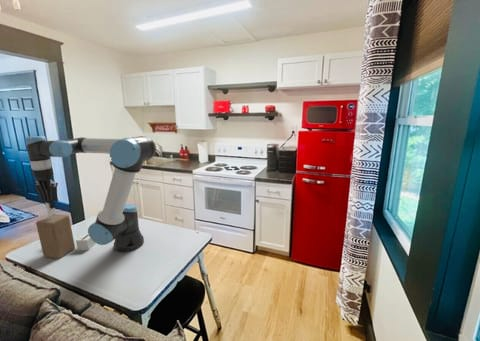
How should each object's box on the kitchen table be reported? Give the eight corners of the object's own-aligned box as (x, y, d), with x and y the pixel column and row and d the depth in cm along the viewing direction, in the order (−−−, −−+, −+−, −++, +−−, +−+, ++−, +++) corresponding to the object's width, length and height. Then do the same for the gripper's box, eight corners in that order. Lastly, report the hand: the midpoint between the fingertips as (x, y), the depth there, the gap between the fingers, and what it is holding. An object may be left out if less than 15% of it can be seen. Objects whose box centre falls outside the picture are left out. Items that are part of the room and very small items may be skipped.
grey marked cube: (95, 244, 130) (94, 234, 128) (89, 250, 124) (87, 239, 123) (85, 244, 130) (83, 234, 128) (77, 250, 124) (75, 239, 123)
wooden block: (58, 259, 116) (51, 223, 111) (42, 257, 118) (34, 221, 113) (76, 248, 125) (69, 214, 121) (61, 246, 127) (54, 213, 123)
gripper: (60, 167, 113) (69, 212, 118) (40, 166, 116) (50, 210, 122) (44, 170, 106) (54, 218, 111) (23, 169, 109) (34, 215, 115)
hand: (52, 214), depth 117 cm, fingers closed
